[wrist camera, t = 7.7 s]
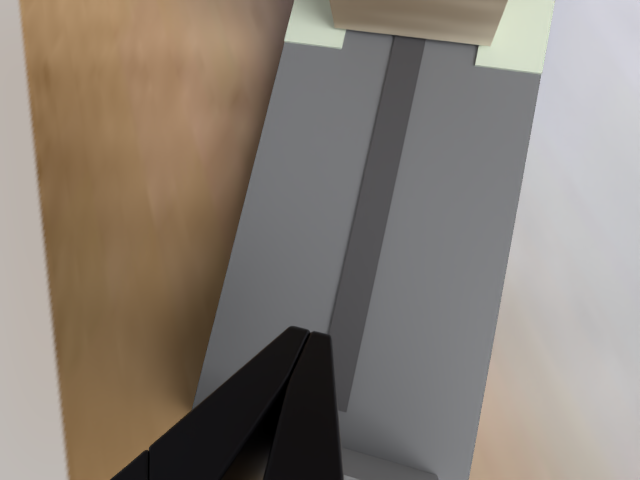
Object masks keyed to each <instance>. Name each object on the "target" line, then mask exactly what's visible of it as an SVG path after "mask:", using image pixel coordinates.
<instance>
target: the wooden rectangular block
mask: <svg viewBox="0 0 640 480" xmlns="http://www.w3.org/2000/svg"><path fill="white" fill-rule="evenodd" d="M329 1H330V7H331V12H332V17H333V22H334V27H335V28H340V29H348V30H356V31H365V32H373V33H382V34H390V35H399V36H407V37H416V38H424V39H433V40H441V41H450V42H458V43H466V44H475V45H483V46H491V44H492V41H493V38H494V36H495V33H496V30H497V28H498V25H499V23H500V20H501V17H502V15H503V12H504V10H505V7H506V4H507V2H508V0H329Z"/></svg>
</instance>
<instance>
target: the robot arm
mask: <svg viewBox="0 0 640 480" xmlns="http://www.w3.org/2000/svg"><path fill="white" fill-rule="evenodd" d="M110 480H344V472H343V460H342V449H341V437H340V425H339V414H338V402H337V390H336V379H335V367H334V356H333V344H332V337H331V336H330V335H329V334H325V333H321V332H317V331H312V332H310V331H309V330H308V329H305V328H301V327H297V326H290V327H288V328H287V329H286V330H285V331H283V332H282V333H281V334H280V335H279V336H278V337H276V338H275V339H274V340H273V341H272V342H271V343H269V344H268V345H267V346H266V347H265V348H264V349H262V350H261V351H260V352H259V353H258V354H257V355H255V356H254V357H253V358H252V359H251V360H250V361H248V362H247V363H246V364H245V365H244V366H243V367H241V368H240V369H239V370H238V371H237V372H236V373H235V374H233V375H232V376H231V377H230V378H229V379H228V380H226V381H225V382H224V383H223V384H222V385H221V386H219V387H218V388H217V389H216V390H215V391H214V392H212V393H211V394H210V395H209V396H208V397H207V398H205V399H204V400H203V401H202V402H201V403H200V404H198V405H197V406H196V407H195V408H194V409H193V410H191V411H190V412H189V413H188V414H187V415H186V416H184V417H183V418H182V419H181V420H180V421H179V422H178V423H176V424H175V425H174V426H173V427H172V428H171V429H169V430H168V431H167V432H166V433H165V434H164V435H162V436H161V437H160V438H159V439H158V440H157V441H155V442H154V443H153V444H152V445H151V446H150V447H149V451H148V450H145V451H143V452H142V453H141V454H140V455H139V456H138V457H136V458H135V459H134V460H133V461H132V462H131V463H130V464H128V465H127V466H126V467H125V468H124V469H122V470H121V471H120V472H119V473H118V474H116V475H115V476H114V477H113V478H111V479H110Z"/></svg>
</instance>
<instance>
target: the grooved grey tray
mask: <svg viewBox="0 0 640 480" xmlns="http://www.w3.org/2000/svg"><path fill="white" fill-rule="evenodd" d="M554 3H555V0H508V2H507V4H506V7H505V10H504V12H503V15H502V17H501V20H500V23H499V25H498V28H497V30H496V33H495V36H494V38H493V41H492V44H491V46H483V45H475V44H466V43H458V42H450V41H441V40H433V39H424V38H416V37H407V36H399V35H390V34H382V33H373V32H365V31H356V30H348V29H340V28H335V27H334V22H333V17H332V12H331V7H330V1H329V0H294V3H293V7H292V11H291V15H290V19H289V23H288V27H287V31H286V35H285V39H284V42H285V43H284V47H283V51H282V55H281V58H280V62H279V66H278V70H277V74H276V78H275V82H274V86H273V90H272V94H271V98H270V102H269V106H268V110H267V114H266V118H265V122H264V126H263V130H262V134H261V138H260V142H259V146H258V150H257V153H256V157H255V161H254V165H253V169H252V173H251V177H250V181H249V185H248V189H247V193H246V197H245V201H244V205H243V209H242V213H241V217H240V221H239V225H238V229H237V233H236V237H235V241H234V245H233V248H232V252H231V256H230V260H229V264H228V268H227V272H226V276H225V280H224V284H223V288H222V292H221V296H220V300H219V304H218V308H217V312H216V316H215V320H214V324H213V328H212V332H211V336H210V340H209V343H208V347H207V351H206V355H205V359H204V363H203V367H202V371H201V375H200V379H199V383H198V387H197V391H196V395H195V399H194V403H193V407H192V410H193V409H194V408H195V407H196V406H197V405H198V404H200V403H201V402H202V401H203V400H204V399H205V398H207V397H208V396H209V395H210V394H211V393H212V392H214V391H215V390H216V389H217V388H218V387H219V386H221V385H222V384H223V383H224V382H225V381H226V380H228V379H229V378H230V377H231V376H232V375H233V374H235V373H236V372H237V371H238V370H239V369H240V368H241V367H243V366H244V365H245V364H246V363H247V362H248V361H250V360H251V359H252V358H253V357H254V356H255V355H257V354H258V353H259V352H260V351H261V350H262V349H264V348H265V347H266V346H267V345H268V344H269V343H271V342H272V341H273V340H274V339H275V338H276V337H278V336H279V335H280V334H281V333H282V332H283V331H285V330H286V329H287V328H288V327H290V326H297V327H301V328H305V329H308V330H309V331H310V332H312V331H317V332H321V333H325V334H329V335H330V336H331V337H332V344H333V356H334V367H335V379H336V390H337V402H338V414H339V425H340V437H341V449H342V460H343V472H344V480H469V475H470V469H471V464H472V458H473V453H474V447H475V441H476V436H477V430H478V425H479V419H480V413H481V408H482V402H483V397H484V391H485V386H486V380H487V374H488V369H489V363H490V358H491V352H492V346H493V341H494V335H495V330H496V324H497V318H498V313H499V307H500V302H501V296H502V290H503V285H504V279H505V274H506V268H507V263H508V257H509V251H510V246H511V240H512V235H513V229H514V223H515V218H516V212H517V207H518V201H519V195H520V190H521V184H522V179H523V173H524V168H525V162H526V156H527V151H528V145H529V140H530V134H531V128H532V123H533V117H534V112H535V106H536V100H537V95H538V89H539V84H540V78H541V74H542V71H543V65H544V59H545V54H546V48H547V43H548V37H549V31H550V26H551V20H552V15H553V9H554Z"/></svg>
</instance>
